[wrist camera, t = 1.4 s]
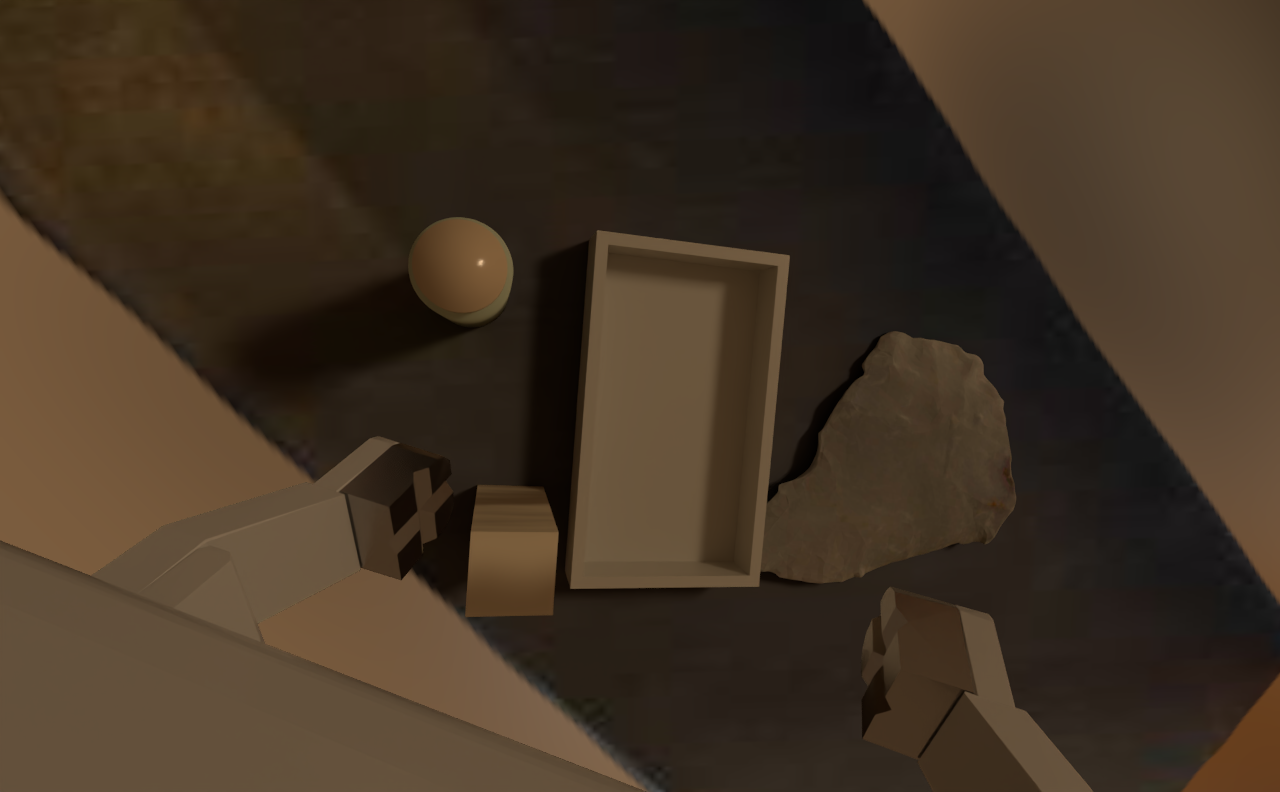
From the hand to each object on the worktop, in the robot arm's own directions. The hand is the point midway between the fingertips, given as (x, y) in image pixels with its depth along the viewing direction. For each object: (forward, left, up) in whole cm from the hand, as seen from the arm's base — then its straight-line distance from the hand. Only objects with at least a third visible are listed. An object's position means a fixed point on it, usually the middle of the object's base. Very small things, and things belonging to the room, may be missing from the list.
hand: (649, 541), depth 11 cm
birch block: (+8, -1, -32) cm, 33 cm away
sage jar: (-7, -5, -32) cm, 33 cm away
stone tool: (+4, +27, -33) cm, 43 cm away
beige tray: (0, +10, -32) cm, 33 cm away
